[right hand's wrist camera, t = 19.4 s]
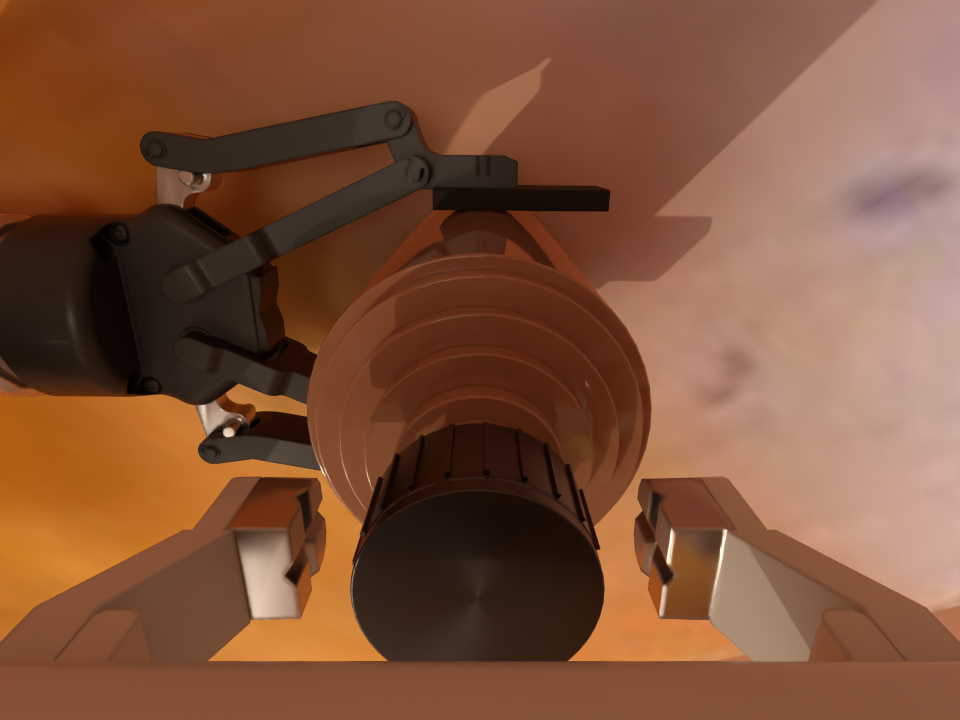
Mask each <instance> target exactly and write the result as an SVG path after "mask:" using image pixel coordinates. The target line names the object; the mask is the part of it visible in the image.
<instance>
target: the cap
mask: <svg viewBox="0 0 960 720" xmlns="http://www.w3.org/2000/svg"><path fill="white" fill-rule="evenodd" d="M360 535H361V536H360V539H359V542H358V545H357V548H356V552H355V555H354V558H353V561H352V565H354V566H353V571H352V576H351V588H350V593H351V601H352V607H353V610H354V614H355V617H356V620H357V622H358V624H359V626H360V628H361V630H362V632H363V633H364V635H365V637H366V638H367V640H368V641H369V642H370V644H371V645H372V646H373V647H374V648H375V649H376V650H377V652H378V653H380V654H381V655H382V656H383V657H384V658H385V659H386V660H387V661H568V660H569V659H570V658H572V657H573V656H574V655H575V654H576V653H577V652H578V651H579V650H580V649H581V648H582V646H583V645H584V644H585V643H586V641H587V640H588V639H589V637H590V636H591V634H592V632H593V631H594V629H595V627H596V625H597V622H598V620H599V617H600V615H601V610H602V606H603V602H604V590H605V588H604V576H603V572H602V568H601V564H600V561H599V557H598V554H597V551H596V550H599V549H600V546H599V543H598V539H597V536H596V532H595V529H594V526H593V522H592V519H591V516H590V512H589V509H588V506H587V502H586V499H585V496H584V492H583V489H579V488H578V485H577V483H576V480H575V478H574V474H573V471H572V467H571V465H570V464H567V465H566V464H565V462H564V461H563V460H562V459H561V458H560V456H559V455H557V453H555V452H554V451H553V450H552V449H551V446H550V444H549V443H547V442H546V443H545V444H544V443H543V442H541V441H540V440H538V439H536V438H534V437H533V436H531V435H530V434H527V433H526V432H522V429H520V428H517V429H513V428H510V427H506V426H501V425H496V424H492V423H490V424H489V423H488V422H483V423H468V424H461V425H454V424H450V425H449V426H447V427H445V428H442V429H440V430H437V431H434V432H432V433H429V434H427V435H425V436H423V435H420V436H418V440H416V441H415V442H413V443H411V444H410V445H409V446H408V447H406V448H405V449H404V450H403V451H402V452H401V453H400V454H398V453H396V454H395V455H394V456H393V459H392V463H391V464H390V465H389V466H388V468H387V469H386V471H385V473H384V475H383V476H382V477H378V479H377V482H376V485H375V488H374V491H373V494H372V498H371V501H370V504H369V507H368V510H367V513H366V517H365V520H364V523H363V526H362V529H361V532H360Z"/></svg>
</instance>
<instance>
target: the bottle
mask: <svg viewBox="0 0 960 720" xmlns="http://www.w3.org/2000/svg"><path fill="white" fill-rule="evenodd" d="M651 408H652V407H651V395H650V385H649V381H648V377H647V373H646V368H645V365H644V362H643V360H642V357H641V355H640V352H639V350H638V347H637V345H636V344H635V342H634V340H633V338H632V337H631V335H630V333H629V332H628V330H627V328H626V327H625V325H624V324H623V323H622V322H621V320H620V319H619V318H618V316H617V315H616V314H615V313H614V311H613V310H612V309H611V308H610V306H609V305H608V304H607V303H606V302H605V300H604V299H603V298H602V297H601V296H600V294H599V293H598V292H597V291H596V289H595V288H594V287H593V286H592V285H591V283H590V282H589V281H588V280H587V278H586V277H585V276H584V275H583V274H582V272H581V271H580V270H579V269H578V267H577V266H576V265H575V264H574V263H573V261H572V260H571V259H570V258H569V256H568V255H567V254H566V253H565V252H564V250H563V249H562V248H561V247H560V245H559V244H558V243H557V242H556V241H555V239H554V238H553V237H552V236H551V234H550V233H549V232H548V231H547V230H546V228H545V227H544V226H543V225H542V224H541V222H540V221H539V220H538V219H537V218H536V217H535V216H534V215H533V214H531V213H530V212H529V211H483V210H480V211H465V210H433V211H432V212H431V213H429V214H428V215H427V216H426V217H425V218H424V219H423V220H422V221H421V222H420V223H419V225H418V226H417V227H416V228H415V229H414V231H413V232H412V233H411V234H410V235H409V236H408V238H407V239H406V240H405V241H404V242H403V243H402V245H401V246H400V247H399V248H398V249H397V251H396V252H395V253H394V254H393V255H392V256H391V258H390V259H389V260H388V261H387V262H386V263H385V265H384V266H383V267H382V268H381V269H380V270H379V272H378V273H377V274H376V275H375V276H374V278H373V279H372V280H371V281H370V282H369V283H368V285H367V286H366V287H365V288H364V289H363V290H362V292H361V293H360V294H359V295H358V296H357V298H356V299H355V300H354V301H353V302H352V303H351V305H350V306H349V307H348V308H347V309H346V310H345V312H344V313H343V314H342V315H341V316H340V318H339V319H338V320H337V321H336V322H335V324H334V325H333V327H332V328H331V330H330V332H329V333H328V335H327V336H326V338H325V340H324V341H323V344H322V346H321V348H320V350H319V353H318V355H317V357H316V359H315V362H314V366H313V370H312V373H311V377H310V381H309V388H308V397H307V423H308V428H309V434H310V440H311V444H312V447H313V450H314V453H315V456H316V459H317V462H318V464H319V466H320V469H321V471H322V473H323V475H324V477H325V479H326V481H327V482H328V484H329V485H330V487H331V488H332V490H333V491H334V493H335V494H336V496H337V497H338V498H339V499H340V501H341V502H342V503H343V504H344V505H345V506H346V508H347V509H348V510H349V511H350V512H351V513H352V515H353V516H354V517H355V518H356V519H357V520H358V521H359V522H360V523H361V524H363V523H364V520H365V517H366V513H367V510H368V507H369V504H370V501H371V498H372V494H373V491H374V488H375V485H376V482H377V479H378V477H382V476H383V475H384V473H385V471H386V469H387V468H388V466H389V465H390V464H391V463H392V459H393V456H394V455H395V454H396V453H398V454H400V453H401V452H402V451H403V450H404V449H405V448H406V447H408V446H409V445H410V444H411V443H413V442H415V441H416V440H418V436H420V435H423V436H425V435H427V434H429V433H432V432H434V431H437V430H440V429H442V428H445V427H447V426H449V425H450V424H454V425H461V424H468V423H483V422H488V423H489V424H490V423H492V424H496V425H501V426H506V427H510V428H513V429H517V428H520V429H522V432H526V433H527V434H530V435H531V436H533V437H534V438H536V439H538V440H540V441H541V442H543V443H544V444H545V443H546V442H547V443H549V444H550V446H551V449H552V450H553V451H554V452H555V453H557V455H559V456H560V458H561V459H562V460H563V461H564V462H565V464H566V465H567V464H570V465H571V467H572V471H573V474H574V478H575V480H576V483H577V485H578V488H579V489H583V492H584V496H585V499H586V502H587V506H588V509H589V512H590V516H591V519H592V522H593V526H595V525H596V524H597V523H598V522H600V520H601V519H602V518H603V517H604V516H605V515H606V514H607V513H608V512H609V511H610V510H611V508H612V507H613V506H614V505H615V504H616V503H617V502H618V501H619V499H620V498H621V496H622V495H623V493H624V492H625V491H626V489H627V488H628V486H629V485H630V483H631V481H632V479H633V478H634V476H635V474H636V472H637V470H638V468H639V466H640V463H641V460H642V457H643V455H644V452H645V449H646V446H647V441H648V436H649V431H650V424H651Z"/></svg>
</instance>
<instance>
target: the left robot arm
mask: <svg viewBox="0 0 960 720" xmlns="http://www.w3.org/2000/svg"><path fill="white" fill-rule="evenodd" d="M382 143H388V146H389V149H390V151H391V154H392V156H393V159H394V161H395V163H393V164H391V165H389V166H387V167H385V168H383V169H381V170H379V171H377V172H375V173H373V174H371V175H369V176H367V177H365V178H363V179H361V180H359V181H357V182H355V183H353V184H351V185H349V186H346V187H344V188H342V189H340V190H338V191H336V192H334V193H332V194H330V195H328V196H326V197H324V198H322V199H320V200H318V201H316V202H314V203H312V204H310V205H308V206H306V207H304V208H302V209H300V210H298V211H296V212H294V213H292V214H290V215H287V216H285V217H283V218H281V219H279V220H277V221H275V222H273V223H271V224H269V225H267V226H265V227H263V228H261V229H259V230H256V231H254V232H252V233H250V234H248V235H246V236H243V237H241V236H239V235H238V234H236V233H235V232H233V231H232V230H230V229H229V228H227V227H226V226H224V225H223V224H221V223H220V222H218V221H217V220H215V219H214V218H212V217H211V216H209V215H208V214H206V213H205V212H203V211H202V210H200V209H199V208H197V207H196V206H194V204H195V199H196V197H197V196H198V195H199V194H200V193H202V192H206V191H213V190H215V189H217V188H218V187H219V185H220V183H221V179H222V173H227V172H238V171H246V170H254V169H259V168H263V167H268V166H273V165H278V164H283V163H288V162H293V161H298V160H303V159H308V158H313V157H318V156H323V155H328V154H332V153H337V152H342V151H347V150H352V149H357V148H362V147H367V146H372V145H377V144H382ZM140 149H141V153H142V155H143V156H144V158H145V160H147V161H148V162H149V163H150V164H152V165H154V166H156V174H157V202H158V204H157V205H154V206H151V207H150V208H148V209H147V210H145V211H144V212H142V213H140V214H41V215H36V216H29V215H25V214H12V213H0V396H23V397H31V396H39V395H46V394H48V395H53V396H112V397H132V396H146V395H157V394H161V395H167V396H171V397H174V398H177V399H179V400H181V401H183V402H185V403H188V404H191V405H195V406H196V408H197V411H198V414H199V417H200V419H201V422H202V425H203V428H204V430H205V433H206V438H205V440H204V441H203V442H202V443H201V444H200V445H199V448H198V452H199V455H200V457H201V458H202V459H203V460H204V461H205V462H208V463H210V464H219V463H226V462H234V461H241V460H249V459H256V460H262V461H268V462H273V463H279V464H285V465H291V466H297V467H303V468H308V469H314V470H320V471H321V469H320V466H319V464H318V462H317V459H316V456H315V453H314V450H313V447H312V444H311V440H310V434H309V428H308V423H307V417H305V416H299V415H294V414H288V413H282V412H274V411H262V412H256V408H255V407H254V406H253V405H252V404H237V403H234V402H232V401H231V400H230V399H229V398H228V397H227V395H226V392H228V391H229V390H230V389H232V388H233V387H234V386H236V385H237V384H241V385H244V386H246V387H249V388H251V389H254V390H256V391H259V392H261V393H264V394H267V395H271V396H277V395H284V396H287V397H290V398H292V399H295V400H297V401H300V402H302V403H305V404H307V397H308V388H309V381H310V377H311V373H312V370H313V366H314V362H315V359H316V357H317V354H314V353H312V352H310V351H309V350H308V349H307V348H306V346H305V345H303V344H302V343H300V342H298V341H295V340H293V339H291V338H288V337H286V336H285V330H284V321H283V317H282V315H281V312H280V310H279V307H278V305H277V301H276V300H277V294H278V287H279V280H278V272H277V266H272V265H271V263H270V261H272V260H274V259H276V258H278V257H280V256H282V255H284V254H286V253H288V252H290V251H292V250H294V249H297V248H299V247H301V246H303V245H305V244H307V243H309V242H311V241H313V240H315V239H317V238H319V237H322V236H324V235H326V234H328V233H330V232H332V231H334V230H336V229H338V228H340V227H342V226H344V225H346V224H349V223H351V222H353V221H355V220H357V219H359V218H361V217H363V216H365V215H367V214H369V213H371V212H374V211H376V210H378V209H380V208H382V207H384V206H386V205H388V204H390V203H392V202H394V201H396V200H399V199H401V198H403V197H405V196H407V195H409V194H411V193H413V192H415V191H417V190H420V189H433V210H465V211H480V210H483V211H606V212H608V211H609V200H610V190H607V189H604V188H601V187H598V186H539V185H517V171H518V162H517V161H515V160H513V159H511V158H508V157H506V156H503V155H440V154H437V153H435V152H433V151H432V150H430V148H429V147H428V146H427V145H426V143H425V141H424V138H423V135H422V132H421V130H420V127H419V124H418V119H417V116H416V114H415V113H414V111H413V110H412V109H411V108H409V107H407V106H406V105H404V104H402V103H400V102H397V101H388V102H383V103H378V104H374V105H369V106H364V107H359V108H354V109H349V110H345V111H340V112H335V113H330V114H325V115H321V116H316V117H311V118H306V119H301V120H297V121H292V122H287V123H282V124H277V125H272V126H268V127H263V128H258V129H253V130H248V131H244V132H239V133H234V134H229V135H224V136H220V137H215V138H213V137H207V136H202V135H196V134H190V133H174V132H149V133H147V134H145V135H144V136H143V138H142V139H141V143H140Z"/></svg>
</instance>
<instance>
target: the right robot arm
mask: <svg viewBox="0 0 960 720" xmlns="http://www.w3.org/2000/svg"><path fill="white" fill-rule="evenodd" d="M322 499H323V498H322V492H321V485H320V482H319V481H318V479H317V478H289V477H236V478H233V479H231V480H230V481H229V483H228V484H227V485H226V487H225V488H224V489H223V491H222V492H221V493H220V494H219V496H218V497H217V498H216V500H215V501H214V502H213V504H212V505H211V506H210V508H209V509H208V510H207V511H206V513H205V514H204V515H203V517H202V518H201V519H200V521H199V522H198V523H197V525H196V526H195V527H194V528H193V530H183V531H181V532H179V533H177V534H175V535H173V536H171V537H169V538H167V539H165V540H163V541H161V542H159V543H157V544H156V545H154V546H152V547H150V548H148V549H146V550H144V551H142V552H140V553H138V554H136V555H134V556H132V557H130V558H128V559H127V560H125V561H123V562H121V563H119V564H117V565H115V566H113V567H111V568H109V569H107V570H105V571H103V572H101V573H99V574H97V575H96V576H94V577H92V578H90V579H88V580H86V581H84V582H82V583H80V584H78V585H76V586H74V587H72V588H70V589H68V590H66V591H65V592H63V593H61V594H59V595H57V596H55V597H53V598H51V599H49V600H47V601H45V602H43V603H41V604H39V605H37V606H35V607H34V608H33V609H32V610H31V611H30V612H29V613H28V614H27V615H26V616H25V617H24V619H23V620H22V621H21V622H20V623H19V624H18V625H17V626H16V627H15V628H14V629H13V630H12V631H11V632H10V633H9V634H8V635H7V636H6V637H5V638H4V639H3V640H2V641H1V642H0V720H960V642H959V641H958V640H957V639H956V638H955V637H954V636H953V635H952V634H951V633H950V632H949V630H948V629H947V628H946V627H945V626H944V625H943V624H942V623H941V622H940V621H939V620H938V619H937V618H936V617H935V616H934V615H933V614H932V613H931V612H930V611H929V610H928V609H927V608H926V607H924V606H922V605H920V604H918V603H916V602H914V601H913V600H911V599H909V598H907V597H905V596H903V595H901V594H899V593H897V592H895V591H893V590H891V589H889V588H887V587H886V586H884V585H882V584H880V583H878V582H876V581H874V580H872V579H870V578H868V577H866V576H864V575H862V574H860V573H858V572H857V571H855V570H853V569H851V568H849V567H847V566H845V565H843V564H841V563H839V562H837V561H835V560H833V559H831V558H830V557H828V556H826V555H824V554H822V553H820V552H818V551H816V550H814V549H812V548H810V547H808V546H806V545H804V544H802V543H801V542H799V541H797V540H795V539H793V538H791V537H789V536H787V535H785V534H783V533H781V532H779V531H777V530H767V528H766V527H765V526H764V525H763V523H762V522H761V521H760V519H759V518H758V517H757V515H756V514H755V513H754V512H753V510H752V509H751V508H750V506H749V505H748V504H747V502H746V501H745V500H744V499H743V497H742V496H741V495H740V493H739V492H738V491H737V489H736V488H735V487H734V486H733V484H732V483H731V482H730V480H729V479H727V478H725V477H723V476H721V477H696V478H660V479H642V480H641V482H640V485H639V491H638V501H639V503H640V505H641V508H642V510H643V511H642V512H641V513H640V514H639V515H638V516H637V518H636V519H635V527H634V545H635V553H636V557H637V561H638V564H639V567H640V570H641V571H642V572H643V573H644V574H646V575H647V576H648V577H649V585H648V591H649V593H650V596H651V598H652V601H653V603H654V606H655V609H656V611H657V614H658V616H659V619H689V620H710V623H711V624H712V625H713V626H714V627H715V628H717V629H718V630H719V631H720V632H721V633H722V634H723V635H724V636H725V637H727V638H728V639H729V640H730V641H731V642H732V643H733V644H734V645H736V646H737V647H738V648H739V649H740V650H741V651H742V652H743V653H744V654H746V655H747V656H748V657H749V658H750V659H751V660H752V661H208V660H209V659H210V658H211V657H213V656H214V655H215V654H216V653H217V652H218V651H219V650H220V649H221V648H223V647H224V646H225V645H226V644H227V643H228V642H229V641H230V640H231V639H233V638H234V637H235V636H236V635H237V634H238V633H239V632H240V631H242V630H243V629H244V628H245V627H246V626H247V625H248V624H249V623H250V620H270V619H301V617H302V614H303V611H304V609H305V606H306V604H307V601H308V599H309V596H310V593H311V591H312V585H311V577H312V576H313V575H314V574H316V573H317V572H318V571H319V570H320V567H321V564H322V561H323V558H324V552H325V546H326V525H325V519H324V518H323V516H322V515H321V514H320V513H319V512H318V511H317V510H318V508H319V505H320V503H321V501H322Z"/></svg>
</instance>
